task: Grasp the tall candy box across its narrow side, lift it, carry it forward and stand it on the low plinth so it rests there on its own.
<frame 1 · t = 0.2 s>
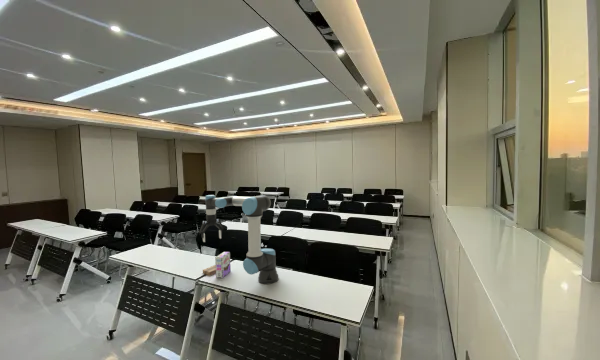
hand: (212, 239, 203), 27 cm above the table, fingers open, 13 cm apart
plinth: (214, 271, 208), on the table
candy box: (223, 274, 201), on the table
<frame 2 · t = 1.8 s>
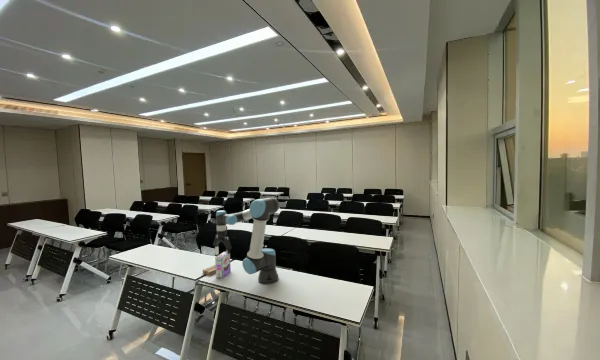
hand: (222, 256, 201), 15 cm above the table, fingers open, 13 cm apart
nothing on the table moved.
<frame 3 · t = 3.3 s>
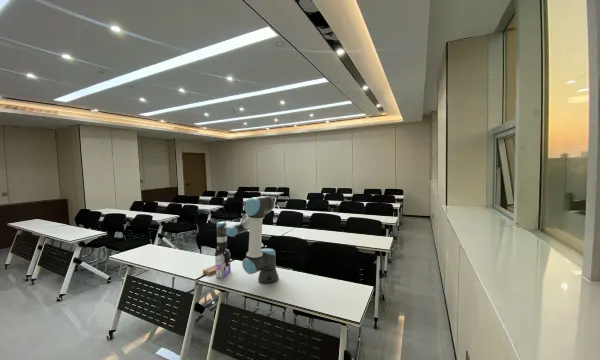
hand: (223, 269, 201), 4 cm above the table, fingers closed on candy box, 7 cm apart
candy box: (223, 274, 201), on the table, touching gripper
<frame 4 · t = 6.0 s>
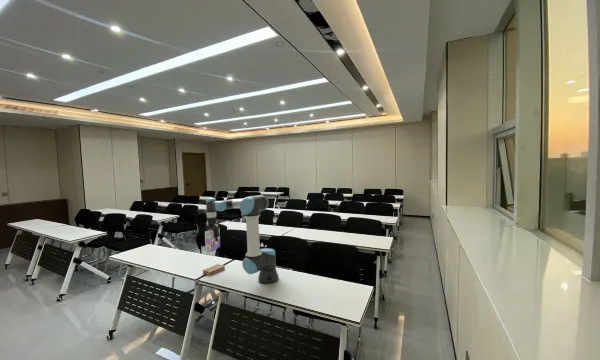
hand: (212, 244, 207), 23 cm above the table, fingers closed on candy box, 7 cm apart
candy box: (213, 249, 207), point 19 cm above the table, touching gripper
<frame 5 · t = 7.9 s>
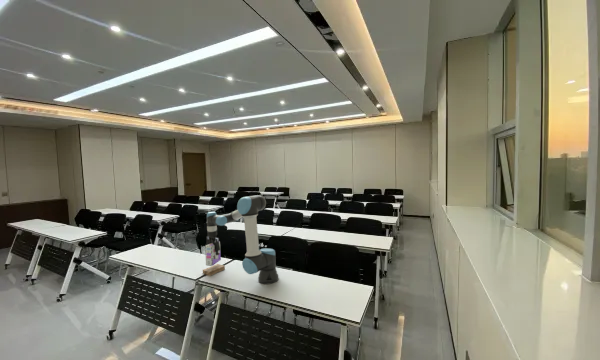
hand: (213, 257, 207), 11 cm above the table, fingers closed on candy box, 7 cm apart
candy box: (213, 263, 207), point 7 cm above the table, touching gripper
when the fingers open (9 cm above the table, at t = 9.0 s): candy box drops 1 cm, resting on plinth.
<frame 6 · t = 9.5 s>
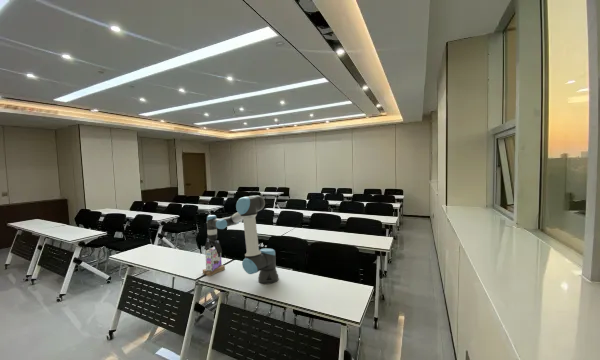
hand: (213, 259, 207), 10 cm above the table, fingers open, 13 cm apart
candy box: (214, 268, 207), point 3 cm above the table, touching plinth
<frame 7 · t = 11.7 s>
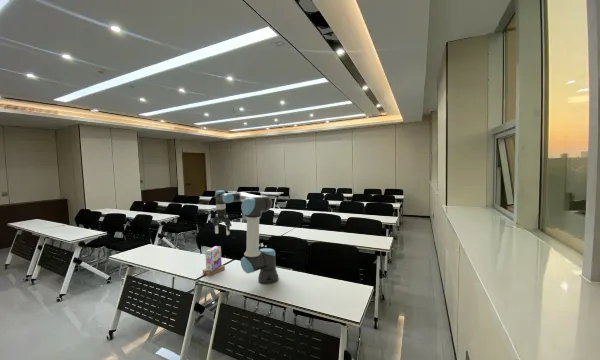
hand: (222, 234, 210), 30 cm above the table, fingers open, 13 cm apart
nothing on the table moved.
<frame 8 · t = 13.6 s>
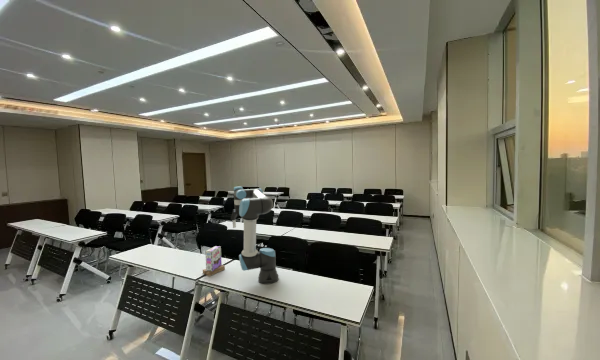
hand: (239, 228, 218), 33 cm above the table, fingers open, 13 cm apart
nothing on the table moved.
at the end: candy box inside the target area on the plinth (0.3 cm from its centre), point 2.8 cm above the plinth's base; candy box tilted 0°; candy box touching plinth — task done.
